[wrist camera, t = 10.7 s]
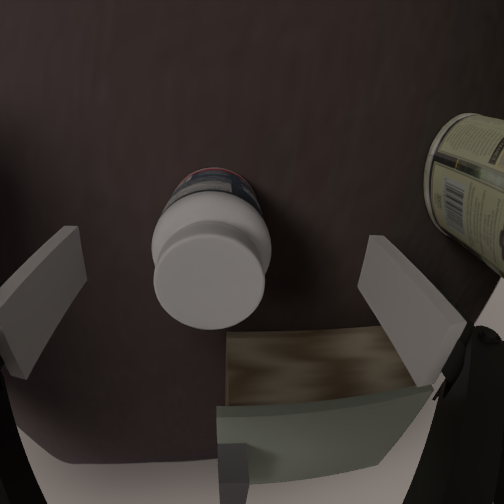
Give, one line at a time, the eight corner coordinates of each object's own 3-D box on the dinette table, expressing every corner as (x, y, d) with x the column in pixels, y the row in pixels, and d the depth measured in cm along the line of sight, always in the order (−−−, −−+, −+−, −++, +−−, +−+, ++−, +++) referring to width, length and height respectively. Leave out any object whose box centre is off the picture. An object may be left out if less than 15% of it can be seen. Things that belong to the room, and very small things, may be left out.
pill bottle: (262, 240, 20) (289, 333, 12) (182, 254, 20) (161, 351, 12) (250, 158, 18) (275, 204, 10) (162, 175, 18) (116, 233, 10)
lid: (218, 477, 21) (220, 514, 18) (216, 406, 16) (217, 462, 13) (375, 458, 23) (386, 489, 20) (429, 382, 18) (452, 421, 15)
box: (224, 413, 28) (228, 474, 22) (226, 331, 23) (229, 406, 17) (357, 402, 29) (377, 454, 23) (391, 324, 25) (428, 382, 18)
